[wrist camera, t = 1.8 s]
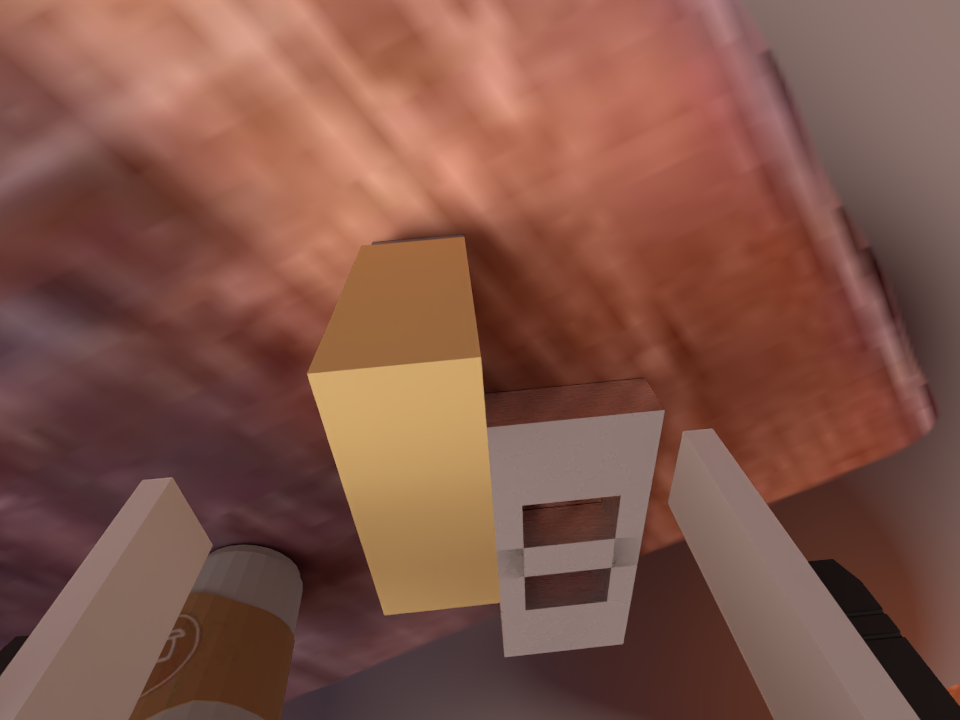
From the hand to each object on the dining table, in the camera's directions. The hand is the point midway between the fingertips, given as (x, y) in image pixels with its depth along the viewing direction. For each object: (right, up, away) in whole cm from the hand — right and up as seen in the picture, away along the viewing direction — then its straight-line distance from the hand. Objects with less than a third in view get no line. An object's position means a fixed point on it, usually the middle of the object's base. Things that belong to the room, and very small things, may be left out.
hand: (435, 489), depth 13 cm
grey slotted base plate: (+6, -6, +16) cm, 18 cm away
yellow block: (-1, +5, +8) cm, 10 cm away
